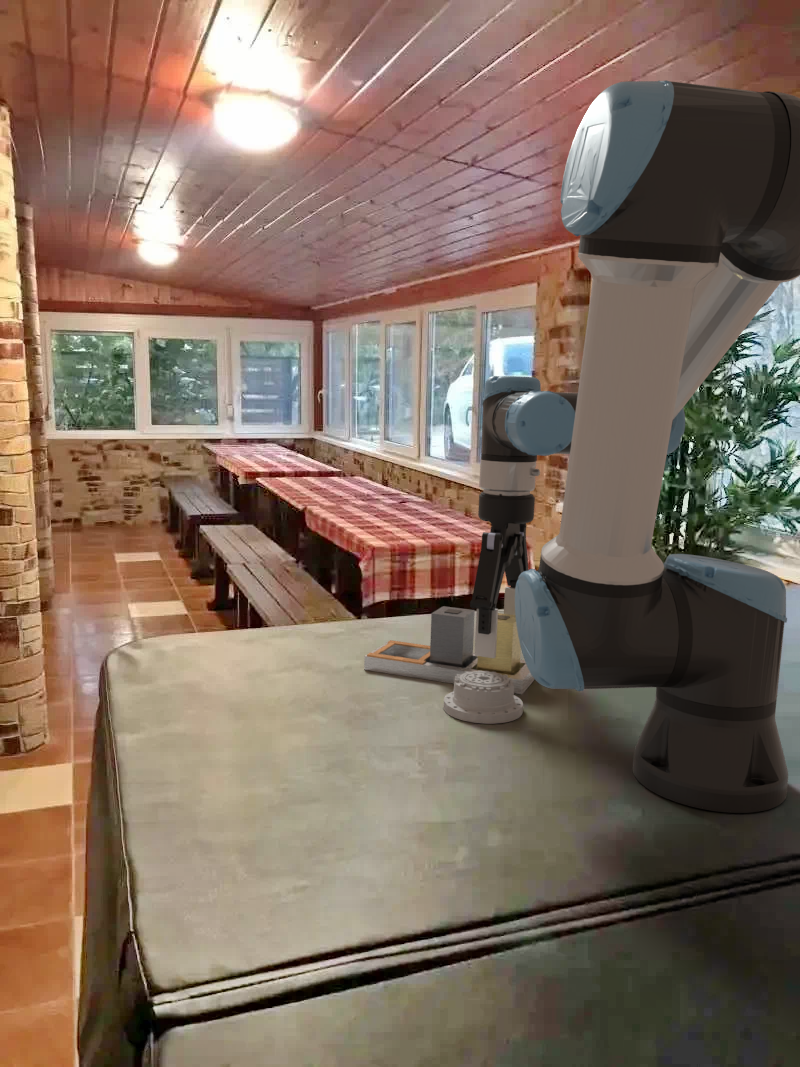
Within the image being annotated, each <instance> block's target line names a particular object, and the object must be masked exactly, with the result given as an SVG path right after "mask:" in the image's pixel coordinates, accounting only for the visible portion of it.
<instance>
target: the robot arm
mask: <svg viewBox="0 0 800 1067" xmlns="http://www.w3.org/2000/svg"><path fill="white" fill-rule="evenodd" d="M585 112H586V113H585V114H584V116H583V118H582V120H581V122H580V124H579V125H578V128H577V130H576V132H575V135H574V138H573V140H572V144H571V145H570V146H571V147H570V150H569V152H568V156H567V159H566V163H565V168H564V172H563V177H562V184H561V190H560V203H561V210H560V216H561V221H562V224H563V227H564V228H565V229H566V231H568V232H569V233H570V234H572V235H573V236H575V237H579V244H578V245H579V246H578V252H577V257H578V258H579V260H580V262H582V264H583V265H584V266H585V268H586V269H587V270H588V271H589V273H590V275H591V277H592V284H591V290H590V298H589V306H588V313H587V322H586V328H585V329H586V330H585V337H584V344H583V352H582V360H581V366H580V374H579V381H578V382H579V383H578V389H577V392H563V391H562V392H559V391H558V392H557V391H550V390H541V388H542V387H541V381H540V379H539V378H537V377H533V376H514V375H499V376H497V375H492V376H489V377H488V378H487V379H486V380H485V382H484V390H483V399H482V401H481V405H482V426H481V427H482V428H481V448H480V449H481V452H480V453H481V454H480V455H481V456H480V457H481V458H480V464H479V467H480V468H479V485H478V486H479V487H478V488H480V489H482V490H483V491H481V492H480V494H479V495H478V518H479V519H480V520H481V521H484V522H489V523H490V524H491V526H490V531H489V532H486V531H484V532H482V535H481V546H480V554H479V559H478V564H477V570H476V575H475V580H474V586H473V591H472V597H471V600H470V601H469V607H470V608H471V609H476V617H475V637H474V638H475V639H474V653H475V656H482V657H488V658H495V657H496V643H497V623H498V613H499V608H497V603H498V599H499V595H500V591H501V586H502V583H503V579H504V575H505V579H506V583H507V586H505V588H504V602H503V605H504V606H503V614H510V615H516V625H517V631H518V637H519V641H520V646H521V653H522V656H523V658H524V659H523V660H525V662H526V665H527V667H528V669H529V671H530V673H531V675H532V676H533V678H534V679H535V680H534V681H536V682H537V683H538V684H539V685H541V686H543V687H544V688H547V689H551V690H552V689H553V690H554V689H555V690H556V689H557V690H558V689H559V690H575V691H577V692H583V691H584V690H599V689H600V690H602V689H603V690H604V689H639V688H643V689H644V688H656V689H655V698H654V699H655V700H654V702H653V705H652V708H651V710H650V712H649V714H648V717H647V719H646V722H645V723H644V726H643V728H642V730H641V732H640V735H639V738H638V739H637V742H636V744H635V747H634V750H633V762H632V772H633V775H634V777H635V779H636V780H637V781H638V782H639V783H640V784H641V785H642V786H644V787H645V788H646V789H648V790H649V791H651V792H652V793H655V794H657V795H658V796H661V797H663V798H665V799H667V800H669V801H672V802H675V803H678V804H680V805H685V806H688V807H692V808H694V809H695V808H696V809H701V810H706V811H712V812H720V813H733V814H746V813H747V814H748V813H758V812H763V811H768V810H771V809H774V808H776V807H778V806H780V805H781V804H783V802H784V801H785V800H786V798H787V796H788V795H787V794H788V785H789V770H788V765H787V762H786V758H785V755H784V749H783V746H782V742H781V738H780V734H779V729H778V726H777V722H776V709H777V701H778V693H779V692H778V691H779V682H780V681H779V680H780V672H781V671H780V670H781V660H782V651H783V639H784V632H785V631H784V630H785V624H786V623H787V621H788V618H787V589H786V586H785V583H784V582H783V580H782V578H780V577H779V576H778V575H776V574H775V573H773V572H770V571H768V570H766V569H761V568H759V567H757V566H756V567H755V566H751V565H747V564H743V563H740V562H736V561H729V560H725V559H721V558H715V557H710V556H709V557H708V556H703V555H698V554H697V555H696V554H695V555H694V554H687V553H671V554H669V555H667V557H666V559H665V561H664V562H663V561H662V559H661V558H660V557H659V555H658V554H657V553H656V552H655V551H654V549H653V548H652V542H653V536H654V532H655V531H654V530H655V526H656V519H657V512H658V506H659V501H660V494H661V490H662V484H663V480H664V479H663V477H664V472H665V467H666V460H667V455H669V454H671V453H673V452H674V451H676V450H677V449H678V447H679V446H680V445H681V443H682V436H683V435H684V433H685V430H686V415H685V410H684V407H685V405H687V403H688V402H689V400H690V399H691V398H692V396H694V394H695V393H696V392H697V390H698V389H699V387H700V386H701V385H702V384H703V382H704V381H705V380H706V379H707V378H708V376H709V375H710V374H711V372H712V371H713V370H714V369H715V367H716V366H717V365H718V363H719V362H720V361H721V360H722V359H723V357H724V355H725V354H726V353H727V352H728V351H729V349H730V348H731V347H732V345H733V344H734V343H736V340H737V339H738V338H739V337H740V335H741V334H742V333H743V332H744V331H745V329H746V328H747V326H748V325H749V324H750V323H751V322H752V320H753V318H755V317H756V315H757V314H758V312H759V311H760V310H761V309H762V308H763V306H764V305H765V303H767V301H768V300H769V298H770V297H771V296H772V295H773V293H774V292H775V290H777V288H778V287H779V286H780V285H781V284H782V283H783V284H784V283H787V282H788V283H789V282H790V281H793V280H796V279H798V277H800V97H798V96H796V95H793V94H789V93H786V92H780V91H755V90H747V89H739V88H738V89H737V88H730V87H722V86H713V85H706V84H696V83H689V82H688V83H686V82H680V81H679V82H678V81H670V80H655V81H654V80H646V81H645V80H643V81H639V80H638V81H633V80H631V81H628V80H626V81H619V82H616V83H614V84H612V85H610V86H608V87H606V88H605V89H604V90H603V91H601V92H600V94H598V95H597V97H596V98H595V99H594V100H593V101H592V103H591V104H590V105H589V107H588V109H587V111H585ZM550 455H569V458H568V465H567V474H566V480H565V488H564V495H563V496H564V497H563V503H562V510H561V518H560V528H559V532H558V534H557V535H556V536H555V537H553V538H552V539H549V541H547V542H546V543H544V544H543V546H542V547H541V549H540V550H541V551H540V558H539V565H538V566H539V567H538V569H537V570H536V569H535V568H530V569H529V561H528V560H529V558H528V547H527V526H528V525H527V524H528V523H531V522H532V521H533V520H534V517H535V502H536V497H535V496H534V494H532V493H531V492H532V491H534V490H535V488H536V477H539V476H540V475H541V471H540V469H539V468H536V467H537V461H538V456H541V457H542V456H544V457H547V456H550Z"/></svg>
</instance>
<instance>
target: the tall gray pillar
mask: <svg viewBox="0 0 800 1067" xmlns="http://www.w3.org/2000/svg"><path fill="white" fill-rule="evenodd" d="M475 612H476V611H475V609H467V608H460V607H450V606H445V605H444V606H441V607H439V608H438V609H436V610H434V611H433V612H431V619H430V645H429V646H430V663H434V664H441V665H448V666H454V667H461V668H466V667H467V666H468V665H469V664H471V663H472V661H473V653H474V638H475V637H474V633H475Z"/></svg>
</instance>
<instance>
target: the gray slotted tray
mask: <svg viewBox="0 0 800 1067" xmlns="http://www.w3.org/2000/svg"><path fill="white" fill-rule="evenodd" d="M363 659H364V660H363V662H364V663H363V666H364V667H363V668H364V670H365V671H371V672H376V673H382V674H383V673H384V674H390V675H395V676H396V675H397V676H403V677H408V678H416V679H422V680H428V681H433V682H440V683H447V684H453V685H454V680H455V676H457V674H460V675H462V674H464V673H465V672H466V671H468V672H473V671H479V670H477V661H478V656H475V652H473V661H472V663H471V664H469V665H468V666H467V667H466V668H461V667H454V666H448V665H441V664H434V663H430V645H426V644H421V643H414V642H405V641H399V640H390V639H389V640H388V641H387V642H385V643H384V644H382V645H381V646H378V647H377V648H376V649H373V650H371V651H370V652H369V653H367V654H365V655H364V658H363ZM498 674H501V673H498ZM501 675H508V674H501ZM508 678H509V679H513V680H514V694H517V695H523V694H524V693H525V692H526V690H528V688H529V687H530V686H531V684H533V682H534V681H536V680H535V679H534V678H533V676H532V675H531V673H530V671H529V669H528V667H527V665H526V662H525V659H520V670H519V671H518V672H517V673H516V674H515V676H514V675H508Z"/></svg>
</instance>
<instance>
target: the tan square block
mask: <svg viewBox="0 0 800 1067" xmlns="http://www.w3.org/2000/svg"><path fill="white" fill-rule="evenodd" d="M521 653H522V650H521V646H520V641H519V637H518V631H517V625H516V615H510V614H504V613H501V612H498V623H497V643H496V657H495V658H488V657H482V656H478V661H477V670H481V671H489V672H496V673H501V674H508V675H514V676H515V674H516V673H517V672H518V671H519V670H520V660H521Z"/></svg>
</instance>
